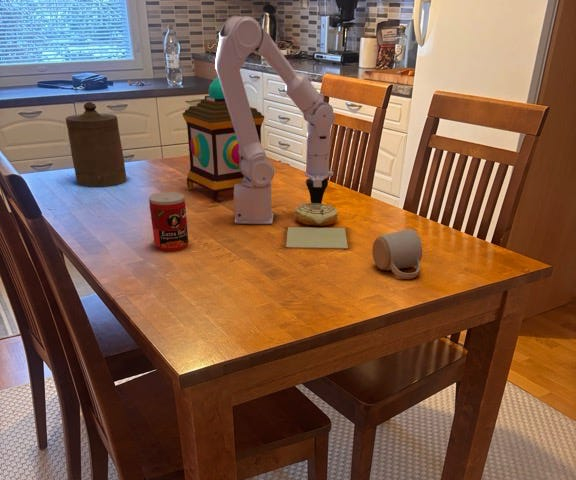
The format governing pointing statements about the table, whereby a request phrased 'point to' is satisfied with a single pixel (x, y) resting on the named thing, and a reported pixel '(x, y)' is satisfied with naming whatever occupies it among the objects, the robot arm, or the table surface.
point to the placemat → (316, 238)
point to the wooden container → (96, 148)
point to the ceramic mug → (398, 252)
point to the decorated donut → (316, 214)
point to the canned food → (169, 221)
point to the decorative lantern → (214, 143)
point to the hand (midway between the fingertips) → (316, 208)
